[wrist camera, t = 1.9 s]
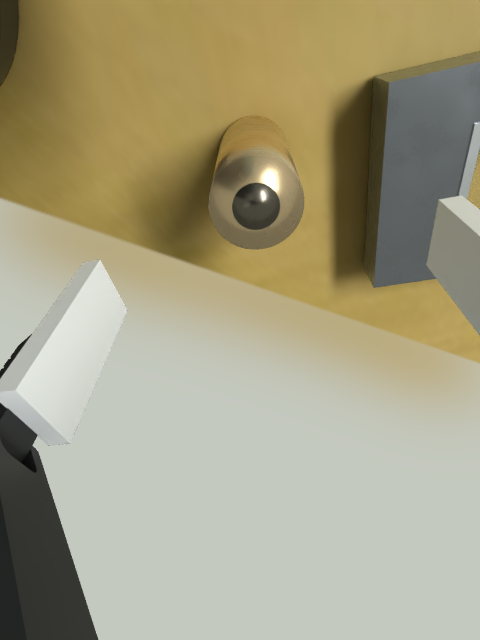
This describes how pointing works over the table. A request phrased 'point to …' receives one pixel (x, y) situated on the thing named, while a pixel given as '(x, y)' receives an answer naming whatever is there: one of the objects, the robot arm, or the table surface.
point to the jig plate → (418, 161)
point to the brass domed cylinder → (255, 186)
